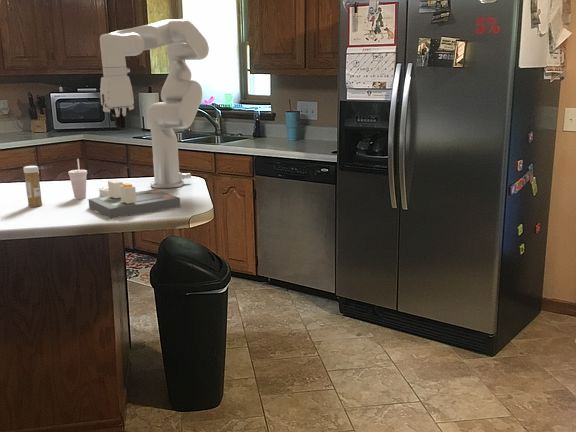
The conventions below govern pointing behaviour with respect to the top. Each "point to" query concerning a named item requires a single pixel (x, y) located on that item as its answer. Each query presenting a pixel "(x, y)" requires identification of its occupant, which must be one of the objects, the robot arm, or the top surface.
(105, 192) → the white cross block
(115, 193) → the block
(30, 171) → the sprinkles bottle
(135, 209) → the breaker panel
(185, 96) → the robot arm
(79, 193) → the smoothie
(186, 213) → the top surface
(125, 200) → the breaker
